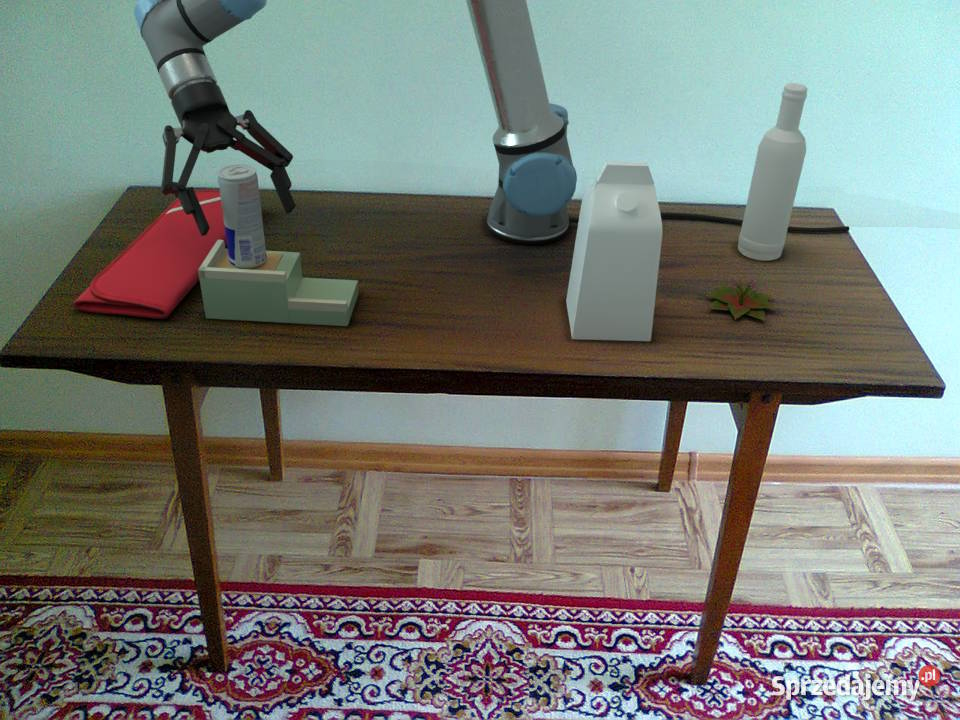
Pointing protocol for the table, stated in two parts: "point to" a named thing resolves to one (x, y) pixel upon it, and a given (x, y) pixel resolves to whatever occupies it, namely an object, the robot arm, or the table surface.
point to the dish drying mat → (157, 264)
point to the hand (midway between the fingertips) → (249, 220)
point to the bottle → (775, 180)
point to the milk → (616, 256)
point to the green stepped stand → (273, 291)
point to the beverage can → (242, 215)
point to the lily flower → (741, 300)
